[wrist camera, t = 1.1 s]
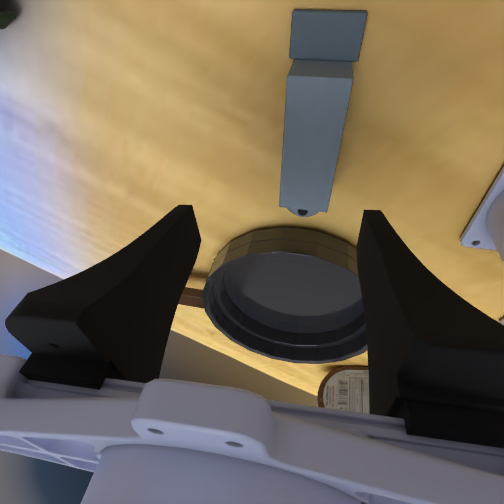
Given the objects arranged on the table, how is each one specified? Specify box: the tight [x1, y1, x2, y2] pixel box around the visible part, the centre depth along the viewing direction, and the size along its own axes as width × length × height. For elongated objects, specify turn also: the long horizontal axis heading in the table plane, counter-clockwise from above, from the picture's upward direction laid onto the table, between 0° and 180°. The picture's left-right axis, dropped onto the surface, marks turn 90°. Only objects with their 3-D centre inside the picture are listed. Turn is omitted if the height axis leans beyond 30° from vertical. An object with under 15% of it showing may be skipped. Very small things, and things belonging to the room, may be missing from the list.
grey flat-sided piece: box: [279, 9, 367, 217], centre depth 19 cm, size 12×4×4 cm, turn 1°
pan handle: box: [178, 287, 205, 308], centre depth 32 cm, size 8×2×1 cm, turn 91°
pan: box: [202, 227, 368, 364], centre depth 31 cm, size 17×17×4 cm
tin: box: [318, 366, 369, 414], centre depth 37 cm, size 15×3×8 cm, turn 109°
